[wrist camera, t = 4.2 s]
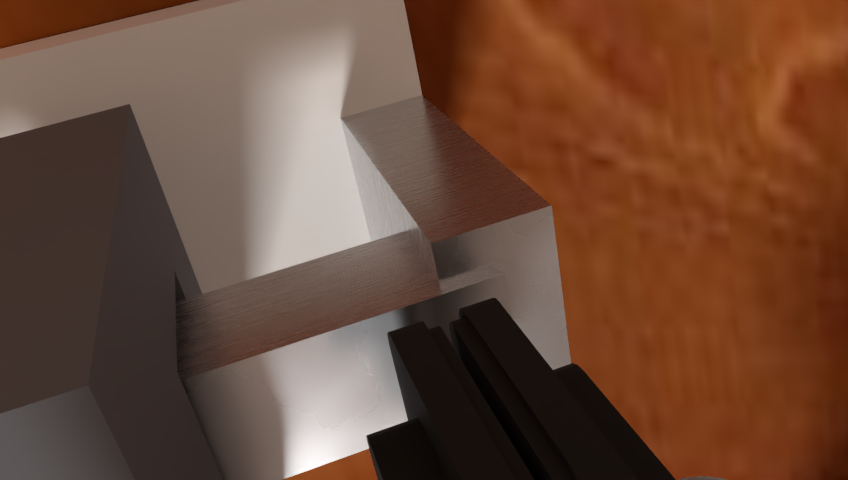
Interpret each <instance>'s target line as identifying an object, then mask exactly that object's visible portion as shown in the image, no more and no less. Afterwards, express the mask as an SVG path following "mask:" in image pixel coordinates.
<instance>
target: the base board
mask: <svg viewBox="0 0 848 480" xmlns="http://www.w3.org/2000/svg"><path fill="white" fill-rule="evenodd" d="M421 95H422V91H421V86H420V81H419V76H418V70H417V65H416V60H415V55H414V50H413V45H412V40H411V35H410V29H409V24H408V19H407V14H406V9H405V4H404V0H198V1H194V2H190V3H186V4H182V5H178V6H174V7H170V8H165V9H161V10H157V11H153V12H149V13H145V14H141V15H137V16H133V17H129V18H124V19H120V20H116V21H112V22H108V23H104V24H100V25H96V26H92V27H88V28H83V29H79V30H75V31H71V32H67V33H63V34H59V35H55V36H51V37H47V38H42V39H38V40H34V41H30V42H26V43H22V44H18V45H14V46H10V47H5V48H1V49H0V138H2V137H6V136H10V135H14V134H17V133H21V132H25V131H29V130H32V129H36V128H40V127H44V126H48V125H51V124H55V123H59V122H63V121H67V120H70V119H74V118H78V117H82V116H86V115H89V114H93V113H97V112H101V111H105V110H108V109H112V108H116V107H120V106H124V105H127V104H130V106H131V108H132V111H133V114H134V116H135V119H136V121H137V124H138V127H139V129H140V132H141V135H142V137H143V140H144V142H145V145H146V148H147V150H148V153H149V156H150V158H151V161H152V163H153V166H154V169H155V171H156V174H157V176H158V179H159V182H160V184H161V187H162V190H163V192H164V195H165V197H166V200H167V203H168V205H169V208H170V211H171V213H172V216H173V218H174V221H175V224H176V226H177V229H178V232H179V234H180V237H181V239H182V242H183V245H184V247H185V250H186V252H187V255H188V258H189V260H190V263H191V266H192V268H193V271H194V273H195V276H196V279H197V281H198V284H199V287H200V289H201V292H202V294H204V293H207V292H210V291H214V290H217V289H220V288H223V287H226V286H230V285H233V284H236V283H239V282H243V281H246V280H249V279H252V278H255V277H259V276H262V275H265V274H268V273H272V272H275V271H278V270H281V269H284V268H288V267H291V266H294V265H297V264H300V263H304V262H307V261H310V260H313V259H317V258H320V257H323V256H326V255H329V254H333V253H336V252H339V251H342V250H346V249H349V248H352V247H355V246H358V245H362V244H365V243H368V242H371V239H370V235H369V231H368V227H367V223H366V219H365V215H364V211H363V207H362V203H361V199H360V195H359V191H358V187H357V183H356V179H355V175H354V171H353V167H352V163H351V159H350V155H349V151H348V147H347V143H346V139H345V135H344V131H343V127H342V123H341V119H340V118H342V117H346V116H349V115H353V114H356V113H360V112H363V111H367V110H371V109H374V108H378V107H381V106H385V105H388V104H392V103H396V102H399V101H403V100H406V99H410V98H413V97H417V96H421Z"/></svg>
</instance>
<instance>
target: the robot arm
mask: <svg viewBox="0 0 848 480" xmlns="http://www.w3.org/2000/svg"><path fill="white" fill-rule="evenodd" d="M449 330H450V335H451V340H452V344H451V343H450V341H449V340H448V338H447V336H446V335H445V333H444V331H443V330H442V328H441V327H440V326H436V327H433V328H430V329H428V328H427V326H426V324H425V323H424V322H423V321H420V322H417V323H414V324H411V325H408V326H405V327H402V328H399V329H396V330H393V331H390V332H388V333H387V336H388V341H389V346H390V350H391V354H392V358H393V362H394V366H395V370H396V374H397V378H398V382H399V386H400V390H401V394H402V398H403V402H404V407H405V411H406V415H407V419H408V421H406V422H403V423H400V424H398V425H395V426H392V427H389V428H386V429H383V430H380V431H378V432H375V433H372V434H369V435H366V437H367V442H368V446H369V449H370V453H371V456H372V460H373V463H374V467H375V470H376V474H377V477H378V480H675V478H674V477H673V476H672V475H671V474H670V472H669V471H668V470H667V469H666V468H665V467H664V465H663V464H662V463H661V462H660V461H659V459H658V458H657V457H656V456H655V455H654V454H653V452H652V451H651V450H650V449H649V448H648V446H647V445H646V444H645V443H644V442H643V441H642V439H641V438H640V437H639V436H638V435H637V433H636V432H635V431H634V430H633V429H632V428H631V426H630V425H629V424H628V423H627V422H626V420H625V419H624V418H623V417H622V416H621V415H620V413H619V412H618V411H617V410H616V409H615V407H614V406H613V405H612V404H611V403H610V402H609V400H608V399H607V398H606V397H605V396H604V394H603V393H602V392H601V391H600V390H599V389H598V387H597V386H596V385H595V384H594V383H593V381H592V380H591V379H590V378H589V377H588V375H587V374H586V373H585V372H584V371H583V370H582V369H581V368H580V367H579V366H578V365H576V364H573V363H571V364H569V365H566V366H563V367H560V368H557V369H554V370H552V368H551V367H550V366H549V364H548V363H547V362H546V361H545V359H544V358H543V357H542V355H541V354H540V353H539V352H538V350H537V349H536V348H535V347H534V345H533V344H532V343H531V341H530V340H529V339H528V338H527V336H526V335H525V334H524V333H523V331H522V330H521V329H520V327H519V326H518V325H517V324H516V322H515V321H514V320H513V319H512V317H511V316H510V315H509V313H508V312H507V311H506V310H505V308H504V307H503V306H502V305H501V303H500V302H499V301H498V300H497V299H496V298H490V299H487V300H484V301H481V302H478V303H475V304H472V305H469V306H466V307H463V308H460V310H459V319H458V320H455V321H452V322H450V323H449ZM452 345H453V346H452ZM680 480H725V479H722V478H714V477H705V476H699V477H690V478H682V479H680Z"/></svg>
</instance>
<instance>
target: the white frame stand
mask: <svg viewBox="0 0 848 480" xmlns="http://www.w3.org/2000/svg"><path fill="white" fill-rule="evenodd" d="M340 119H341V123H342V127H343V131H344V135H345V139H346V143H347V147H348V151H349V155H350V159H351V163H352V167H353V171H354V175H355V179H356V183H357V187H358V191H359V195H360V199H361V203H362V207H363V211H364V215H365V219H366V223H367V227H368V231H369V235H370V239H371V242H368V243H365V244H362V245H358V246H355V247H352V248H349V249H346V250H342V251H339V252H336V253H333V254H329V255H326V256H323V257H320V258H317V259H313V260H310V261H307V262H304V263H300V264H297V265H294V266H291V267H288V268H284V269H281V270H278V271H275V272H272V273H268V274H265V275H262V276H259V277H255V278H252V279H249V280H246V281H243V282H239V283H236V284H233V285H230V286H226V287H223V288H220V289H217V290H214V291H210V292H207V293H204V294H201V295H198V296H194V297H191V298H188V299H185V300H181V301H178V302H175V305H176V341H177V373H178V375H179V377H180V380H181V382H182V384H183V387H184V389H185V391H186V394H187V396H188V399H189V401H190V403H191V406H192V408H193V410H194V413H195V415H196V417H197V420H198V422H199V425H200V427H201V429H202V432H203V434H204V436H205V439H206V441H207V443H208V446H209V448H210V451H211V453H212V455H213V458H214V460H215V462H216V465H217V467H218V469H219V472H220V474H221V476H222V479H223V480H283V479H285V478H288V477H291V476H294V475H297V474H299V473H302V472H305V471H308V470H310V469H313V468H316V467H319V466H322V465H324V464H327V463H330V462H333V461H336V460H338V459H341V458H344V457H347V456H349V455H352V454H355V453H358V452H361V451H363V450H366V449H369V446H368V442H367V437H366V435H369V434H372V433H375V432H378V431H380V430H383V429H386V428H389V427H392V426H395V425H398V424H400V423H403V422H406V421H408V419H407V415H406V411H405V407H404V402H403V398H402V394H401V390H400V386H399V382H398V378H397V374H396V370H395V366H394V362H393V358H392V354H391V350H390V346H389V341H388V336H387V333H388V332H390V331H393V330H396V329H399V328H402V327H405V326H408V325H411V324H414V323H417V322H420V321H423V322H424V323H425V324H426V326H427V328H428V329H430V328H433V327H436V326H440V327H441V328H442V330H443V331H444V333H445V335H446V336H447V338H448V340H449V341H450V343H451V344H452V340H451V335H450V330H449V323H450V322H452V321H455V320H458V319H459V310H460V308H463V307H466V306H469V305H472V304H475V303H478V302H481V301H484V300H487V299H490V298H496V299H497V300H498V301H499V302H500V303H501V305H502V306H503V307H504V308H505V310H506V311H507V312H508V313H509V315H510V316H511V317H512V319H513V320H514V321H515V322H516V324H517V325H518V326H519V327H520V329H521V330H522V331H523V333H524V334H525V335H526V336H527V338H528V339H529V340H530V341H531V343H532V344H533V345H534V347H535V348H536V349H537V350H538V352H539V353H540V354H541V355H542V357H543V358H544V359H545V361H546V362H547V363H548V364H549V366H550V367H551V368H552V370H554V369H557V368H560V367H563V366H566V365H569V364H571V360H570V352H569V344H568V336H567V328H566V319H565V311H564V303H563V295H562V287H561V278H560V270H559V262H558V254H557V246H556V237H555V229H554V221H553V213H552V205H550V204H549V203H548V202H547V201H546V200H545V199H543V198H542V197H541V196H540V195H539V194H538V193H536V192H535V191H534V190H533V189H532V188H531V187H529V186H528V185H527V184H526V183H525V182H524V181H522V180H521V179H520V178H519V177H518V176H517V175H515V174H514V173H513V172H512V171H511V170H509V169H508V168H507V167H506V166H505V165H504V164H502V163H501V162H500V161H499V160H498V159H497V158H495V157H494V156H493V155H492V154H491V153H490V152H488V151H487V150H486V149H485V148H484V147H483V146H481V145H480V144H479V143H478V142H477V141H476V140H474V139H473V138H472V137H471V136H470V135H469V134H467V133H466V132H465V131H464V130H463V129H461V128H460V127H459V126H458V125H457V124H456V123H454V122H453V121H452V120H451V119H450V118H449V117H447V116H446V115H445V114H444V113H443V112H442V111H440V110H439V109H438V108H437V107H436V106H435V105H433V104H432V103H431V102H430V101H429V100H428V99H426V98H425V97H424V96H423V95H421V96H417V97H413V98H410V99H406V100H403V101H399V102H396V103H392V104H388V105H385V106H381V107H378V108H374V109H371V110H367V111H363V112H360V113H356V114H353V115H349V116H346V117H342V118H340ZM452 346H453V345H452Z"/></svg>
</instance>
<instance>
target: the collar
mask: <svg viewBox="0 0 848 480" xmlns="http://www.w3.org/2000/svg"><path fill="white" fill-rule="evenodd" d="M201 294H202V292H201V289H200V287H199V284H198V281H197V279H196V276H195V273H194V271H193V268H192V266H191V263H190V260H189V258H188V255H187V252H186V250H185V247H184V245H183V242H182V239H181V237H180V234H179V232H178V229H177V226H176V224H175V221H174V218H173V216H172V213H171V211H170V208H169V205H168V203H167V200H166V197H165V195H164V192H163V190H162V187H161V184H160V182H159V179H158V176H157V174H156V171H155V169H154V166H153V163H152V161H151V158H150V156H149V153H148V150H147V148H146V145H145V142H144V140H143V137H142V135H141V132H140V129H139V127H138V124H137V121H136V119H135V116H134V114H133V111H132V108H131V106H130V104H127V105H124V106H120V107H116V108H112V109H108V110H105V111H101V112H97V113H93V114H89V115H86V116H82V117H78V118H74V119H70V120H67V121H63V122H59V123H55V124H51V125H48V126H44V127H40V128H36V129H32V130H29V131H25V132H21V133H17V134H14V135H10V136H6V137H2V138H0V480H223V479H222V476H221V474H220V472H219V469H218V467H217V465H216V462H215V460H214V458H213V455H212V453H211V451H210V448H209V446H208V443H207V441H206V439H205V436H204V434H203V432H202V429H201V427H200V425H199V422H198V420H197V417H196V415H195V413H194V410H193V408H192V406H191V403H190V401H189V399H188V396H187V394H186V391H185V389H184V387H183V384H182V382H181V380H180V377H179V375H178V373H177V341H176V305H175V302H178V301H181V300H185V299H188V298H191V297H194V296H198V295H201Z"/></svg>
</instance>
